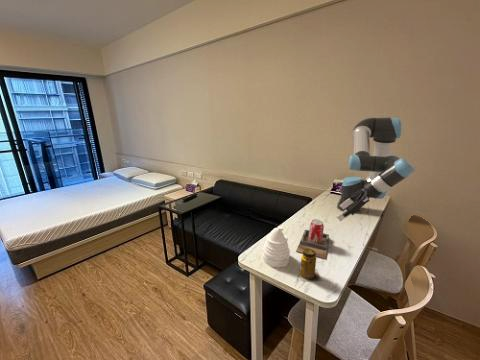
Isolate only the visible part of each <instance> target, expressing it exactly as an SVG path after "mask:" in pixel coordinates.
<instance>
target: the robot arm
mask: <svg viewBox="0 0 480 360" xmlns="http://www.w3.org/2000/svg"><path fill="white" fill-rule="evenodd" d="M351 135H352V137H353V139H354V140H353V154H350V156H349V161H348V169H349V170H351V171H356V172H358V171H359V172H369V173H368V176H366V178H365V179H363V178H362V177H360V176H347V177H345V178H343V180H342V184H341V186H342V188H341V194H340V195H341V196H340V198H339V200H338V201H337V203H336V204H337V206H336V208H337V209H338V210H339V209H340V210H339V211H341V210H342V211H341V213H340V214H338V215H337V216H336V219H337V220H339V221H340V222H342V221H344V220H345V219H346V218H348V217H350V216H351V215H352V216H354V215H355V214H357V213H359V212H361V208H363V207H364V206H365V205H366V204H368V203H369V202H370V198H371V199H378V200H379V199H380V200H381V199H384V198H385V196H386V195H387V193H388V191H390V190H391V188H393V187H394V186H396V185H397V184H399V183H400V182H402V181H403V180H405V179H406V178H408V177H409V176H410V175H411V174H413V173H414V172H415V167H414V166H413V165H412V164H411V163H410V162H409V161H407V160H406V159H405V158H403V157H402V158H400V157H399V156H397V155H395V154H390V153H391V149H392V145H393V144H394V143H396V141H397V139H401V136H402V122H401V119H400V118H398V117H367V118H364V119H362V120H360V121H359V122H358V123H356V125H354V127H353V129H352V134H351ZM370 138H372V141H373V142H374V149H373V153H372V155H371V143H370ZM358 211H359V212H358ZM356 212H357V213H356Z"/></svg>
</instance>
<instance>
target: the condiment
mask: <svg viewBox="0 0 480 360" xmlns="http://www.w3.org/2000/svg"><path fill="white" fill-rule="evenodd" d="M316 263H317V257H316V253H315V251H314V250H312V249H304V250H303V254H301V262H300V269H297V270H298V271H297V272H298V274H299V277H300V279H301V281H302V282H313V281H315V282H319V281H323V280H322V277H321V275H320V274H319V271H318V269H316V265H317V264H316Z"/></svg>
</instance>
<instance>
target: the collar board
mask: <svg viewBox="0 0 480 360" xmlns="http://www.w3.org/2000/svg"><path fill="white" fill-rule="evenodd" d="M330 238H331V237H330V234H328V233H324V232H323V237H322V242H321V243H320V244H316V243H311V242H310V241H309V229H304V232H303V234H302V236H301V239H300V240H299V244H298V245H297V248H296V250H295V253H299V254H301V255H303V250H304V249H312V250H314V251H315V253H316V258H318V259H322V260H326V257H327V251H328V246H329V243H330Z"/></svg>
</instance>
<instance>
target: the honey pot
mask: <svg viewBox="0 0 480 360" xmlns="http://www.w3.org/2000/svg"><path fill="white" fill-rule="evenodd" d="M283 230H284V226H282V225H279V226H277V227H274V228H273V229H272V230H271V231H270V233H268V234H267V235H266V240H265V241H264V245H263V247H262V260H263V262H264V263H265V264H266V265H267V266H268V267H271V268H275V269H276V268H279V269H280V268H283V267H286V266H287V265H288V264H289V263H290V254H291V253H290V252H291V251H290V247H289V244H288V241H289V238H288V236H287V235H286V234H285V233H283Z"/></svg>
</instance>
